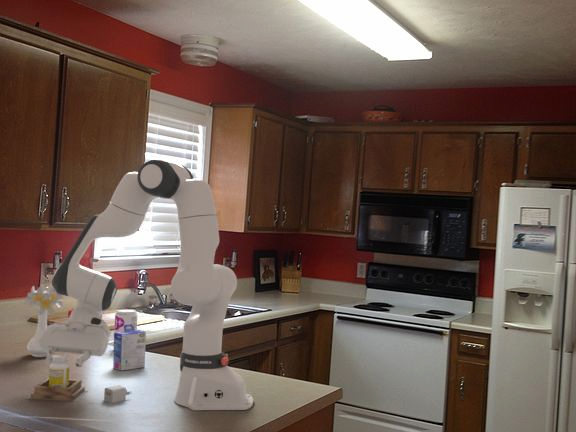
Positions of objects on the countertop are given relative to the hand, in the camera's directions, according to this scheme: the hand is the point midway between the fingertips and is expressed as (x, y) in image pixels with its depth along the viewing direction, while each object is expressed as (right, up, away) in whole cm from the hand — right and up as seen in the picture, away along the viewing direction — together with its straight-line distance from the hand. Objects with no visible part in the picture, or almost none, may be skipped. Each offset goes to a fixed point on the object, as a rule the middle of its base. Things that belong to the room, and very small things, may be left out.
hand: (63, 364), depth 197 cm
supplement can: (+2, -9, +64) cm, 64 cm away
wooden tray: (-1, -8, -2) cm, 8 cm away
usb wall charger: (+17, -10, -3) cm, 20 cm away
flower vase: (-23, -7, +47) cm, 53 cm away
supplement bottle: (-1, -7, -2) cm, 8 cm away
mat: (-1, -9, -2) cm, 9 cm away
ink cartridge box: (+10, -9, +36) cm, 39 cm away
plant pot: (-18, -8, +81) cm, 84 cm away
